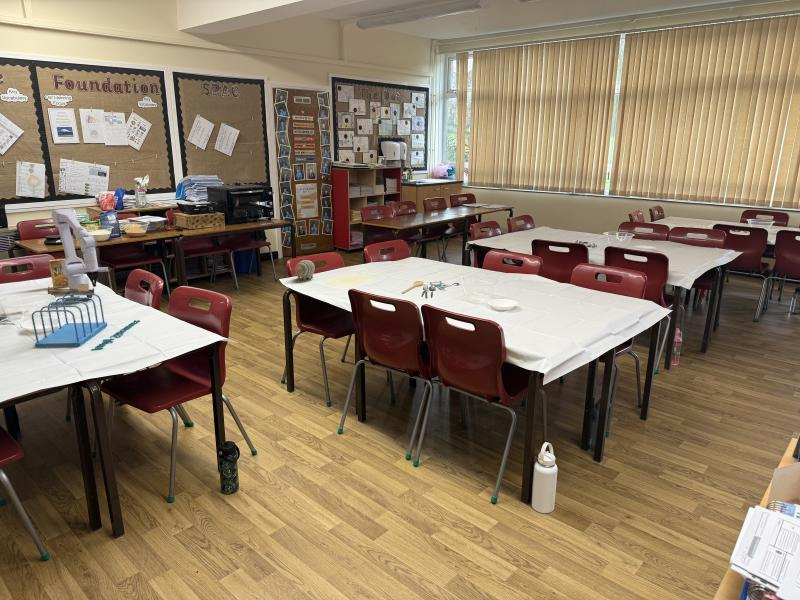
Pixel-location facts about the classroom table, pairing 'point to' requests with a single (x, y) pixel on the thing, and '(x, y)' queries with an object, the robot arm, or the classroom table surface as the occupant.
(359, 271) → the classroom table surface
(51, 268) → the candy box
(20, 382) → the classroom table surface
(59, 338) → the file sorter
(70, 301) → the pivot stand
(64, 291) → the beam
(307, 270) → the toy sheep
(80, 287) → the brass weight
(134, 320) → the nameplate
